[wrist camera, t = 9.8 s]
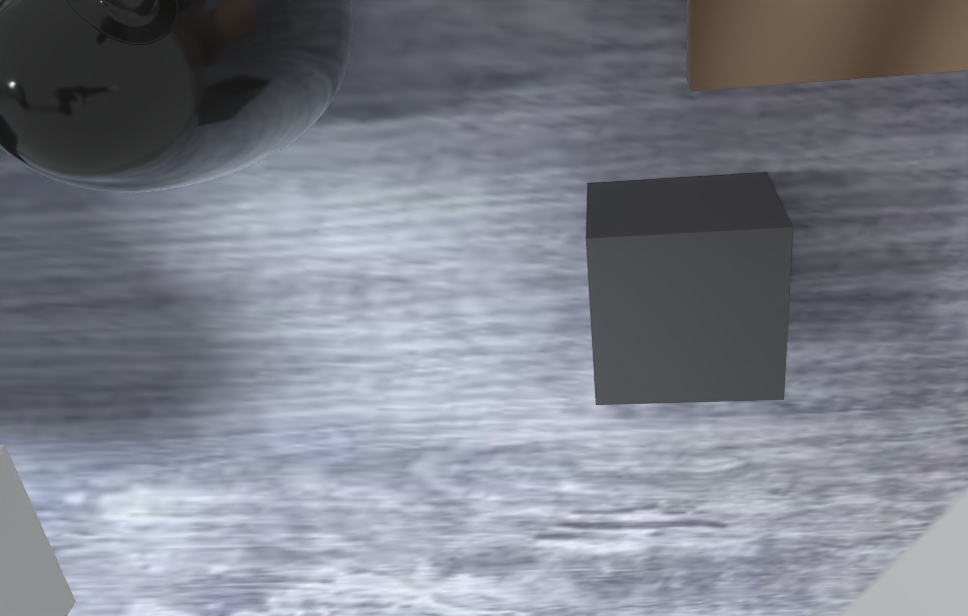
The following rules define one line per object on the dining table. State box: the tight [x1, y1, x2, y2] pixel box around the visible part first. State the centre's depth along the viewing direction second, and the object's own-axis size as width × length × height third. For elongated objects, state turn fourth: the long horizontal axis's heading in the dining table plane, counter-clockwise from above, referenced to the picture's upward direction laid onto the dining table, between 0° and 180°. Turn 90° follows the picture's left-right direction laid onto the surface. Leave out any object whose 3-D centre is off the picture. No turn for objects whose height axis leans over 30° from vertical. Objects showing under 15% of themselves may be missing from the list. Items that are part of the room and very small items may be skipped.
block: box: [586, 172, 793, 405], centre depth 36 cm, size 7×7×6 cm
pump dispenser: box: [0, 0, 353, 193], centre depth 28 cm, size 10×10×15 cm
